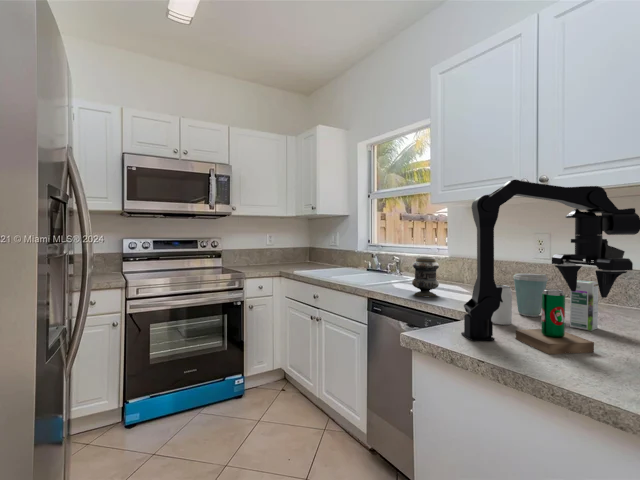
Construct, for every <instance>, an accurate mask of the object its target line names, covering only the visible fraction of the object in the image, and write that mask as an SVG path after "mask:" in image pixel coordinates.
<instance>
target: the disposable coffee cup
mask: <svg viewBox="0 0 640 480" xmlns="http://www.w3.org/2000/svg"><path fill="white" fill-rule="evenodd" d="M548 281H549V278H548V277H547V274H544V273H515V274H514V275H513V282H514V289H515V298H516V306H517V307H516V308H517V311H518V314H519V315H521V316H525V317H531V318H532V317H533V318H535V317H536V318H537V317H540V315H541V314H542V293H543V291H544V289H547V282H548Z"/></svg>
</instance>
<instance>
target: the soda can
mask: <svg viewBox="0 0 640 480" xmlns="http://www.w3.org/2000/svg"><path fill="white" fill-rule="evenodd" d="M540 324H541V326H540V327H541V328H540V329H541V332H542V334H543V335H544V336H547V337H551V338H562V337H564V336H565V332H566V325H565V324H566V294H565V293H564V290H561V289H558V288H557V289H556V288H546V289H544V291H543V293H542V308H541V322H540Z"/></svg>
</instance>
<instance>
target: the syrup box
mask: <svg viewBox="0 0 640 480" xmlns="http://www.w3.org/2000/svg"><path fill="white" fill-rule="evenodd" d="M569 293H570V300H569V303H570V305H569V308H570V310H569V328H575V329H579V330H585V331H589V332H592V331H594V330H596V329H598V323H599V321H598V319H599V318H598V317H599V286H598V281H589V280H581V279H579V280H578V279H577V287H576V291H571V290H570V292H569Z"/></svg>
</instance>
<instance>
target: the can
mask: <svg viewBox="0 0 640 480" xmlns="http://www.w3.org/2000/svg"><path fill="white" fill-rule="evenodd" d="M498 285H499V286H501V287H502V294H501V297H502V301H503V302H500V307H499V309H497V310H496V311H495V312H494V313H493V315H492V318H491V321H492V322H493V325H499V326H510V325H511V324H512V321H513V320H512V318H513V292H512V291H513V290H512V289H511V286H509V285H504V284H502V285H501V284H498Z"/></svg>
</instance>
